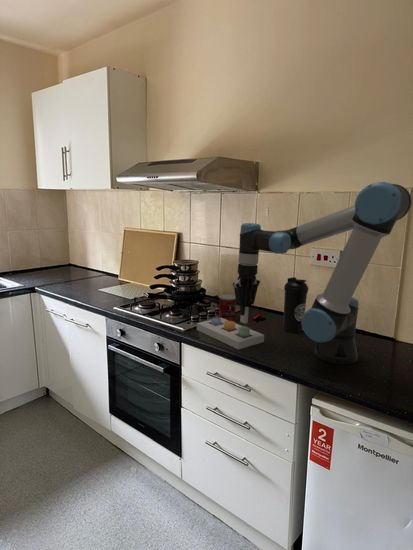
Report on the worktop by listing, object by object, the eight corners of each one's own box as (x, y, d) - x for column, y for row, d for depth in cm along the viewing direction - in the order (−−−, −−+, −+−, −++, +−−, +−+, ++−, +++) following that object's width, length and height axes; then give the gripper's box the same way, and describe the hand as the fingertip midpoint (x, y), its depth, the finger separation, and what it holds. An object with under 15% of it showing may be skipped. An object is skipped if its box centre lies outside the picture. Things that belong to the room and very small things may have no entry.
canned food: (221, 322, 178) (222, 299, 176) (216, 316, 186) (217, 294, 184) (237, 321, 180) (238, 298, 178) (231, 316, 188) (232, 294, 186)
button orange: (236, 331, 161) (237, 322, 160) (228, 333, 158) (229, 324, 157) (229, 328, 164) (230, 320, 163) (221, 330, 161) (222, 321, 161)
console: (263, 341, 156) (264, 334, 155) (238, 349, 147) (238, 342, 147) (221, 324, 176) (221, 317, 175) (196, 329, 167) (196, 323, 166)
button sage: (251, 337, 154) (252, 328, 154) (243, 339, 152) (244, 330, 151) (243, 334, 158) (244, 325, 157) (235, 336, 155) (236, 327, 154)
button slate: (223, 328, 167) (223, 320, 167) (215, 330, 165) (215, 321, 164) (216, 325, 171) (216, 317, 170) (208, 327, 168) (209, 319, 167)
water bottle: (292, 335, 165) (297, 282, 160) (276, 327, 173) (280, 277, 169) (309, 331, 171) (314, 280, 166) (292, 324, 179) (296, 275, 174)
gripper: (252, 260, 156) (248, 317, 161) (228, 263, 147) (225, 322, 152) (266, 264, 150) (262, 322, 155) (242, 267, 142) (238, 328, 147)
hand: (243, 322), depth 154 cm, fingers closed
